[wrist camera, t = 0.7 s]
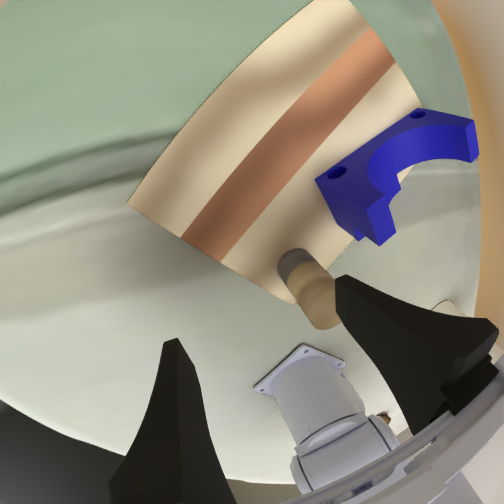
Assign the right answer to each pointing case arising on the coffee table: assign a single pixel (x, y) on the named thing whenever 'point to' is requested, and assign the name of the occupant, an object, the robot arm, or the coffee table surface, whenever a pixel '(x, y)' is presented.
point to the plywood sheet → (278, 144)
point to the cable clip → (391, 169)
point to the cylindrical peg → (310, 287)
